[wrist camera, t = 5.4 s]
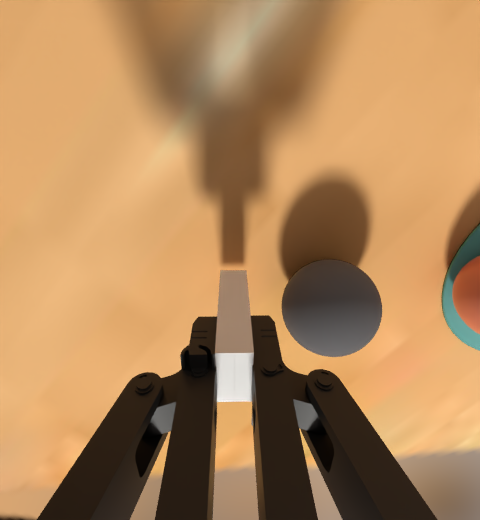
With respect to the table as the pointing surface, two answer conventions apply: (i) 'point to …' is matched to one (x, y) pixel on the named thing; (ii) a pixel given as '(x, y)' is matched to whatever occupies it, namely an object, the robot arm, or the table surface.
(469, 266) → the object ball
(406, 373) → the table surface
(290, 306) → the dark gray ball
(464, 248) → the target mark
